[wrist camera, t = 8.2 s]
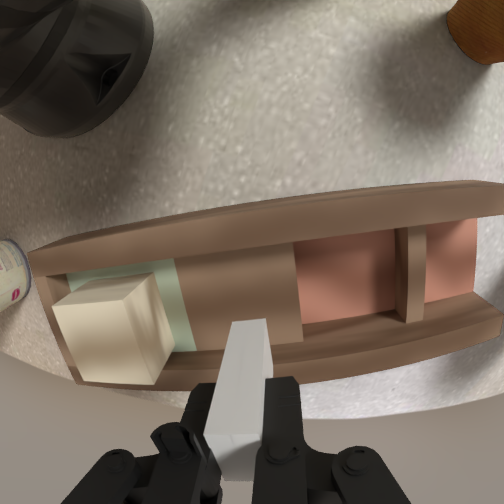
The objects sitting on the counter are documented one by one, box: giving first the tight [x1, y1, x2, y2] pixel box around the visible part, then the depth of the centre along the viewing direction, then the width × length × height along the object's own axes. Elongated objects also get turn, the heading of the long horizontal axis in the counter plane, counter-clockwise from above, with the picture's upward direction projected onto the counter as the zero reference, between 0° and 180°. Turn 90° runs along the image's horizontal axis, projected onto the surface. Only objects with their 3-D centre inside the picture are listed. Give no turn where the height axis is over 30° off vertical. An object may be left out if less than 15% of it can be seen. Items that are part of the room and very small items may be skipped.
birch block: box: [52, 272, 175, 385], centre depth 19 cm, size 6×6×5 cm
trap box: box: [27, 180, 504, 391], centre depth 20 cm, size 12×36×6 cm, turn 99°
